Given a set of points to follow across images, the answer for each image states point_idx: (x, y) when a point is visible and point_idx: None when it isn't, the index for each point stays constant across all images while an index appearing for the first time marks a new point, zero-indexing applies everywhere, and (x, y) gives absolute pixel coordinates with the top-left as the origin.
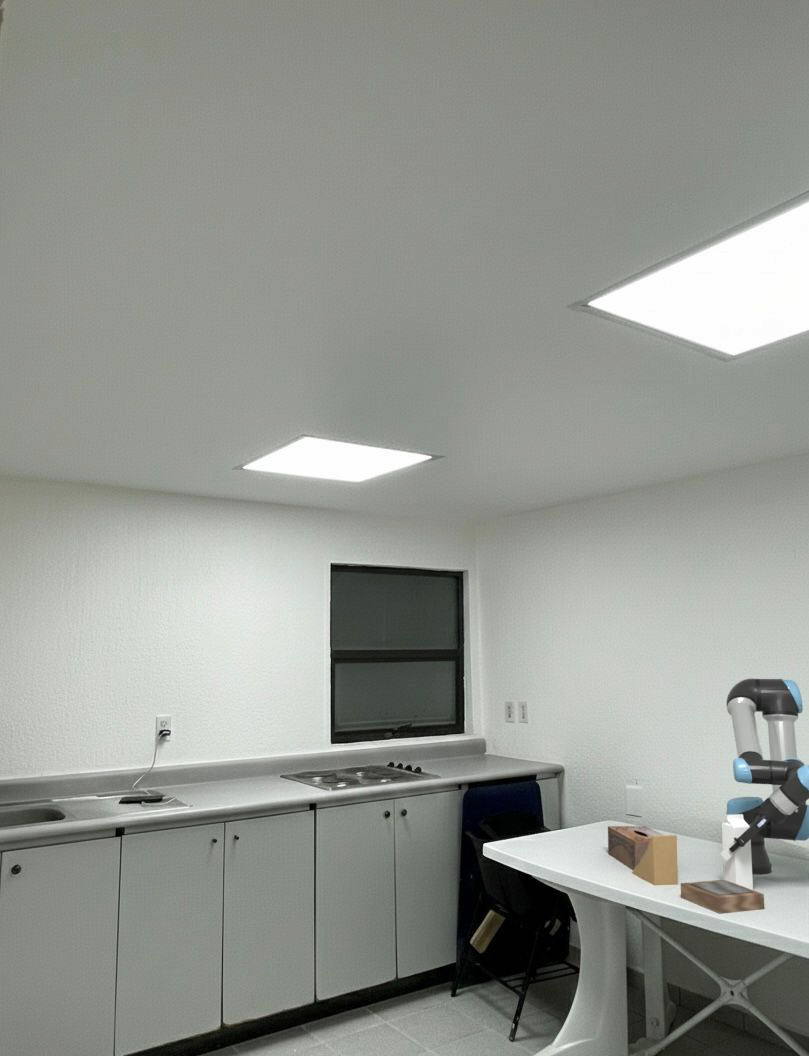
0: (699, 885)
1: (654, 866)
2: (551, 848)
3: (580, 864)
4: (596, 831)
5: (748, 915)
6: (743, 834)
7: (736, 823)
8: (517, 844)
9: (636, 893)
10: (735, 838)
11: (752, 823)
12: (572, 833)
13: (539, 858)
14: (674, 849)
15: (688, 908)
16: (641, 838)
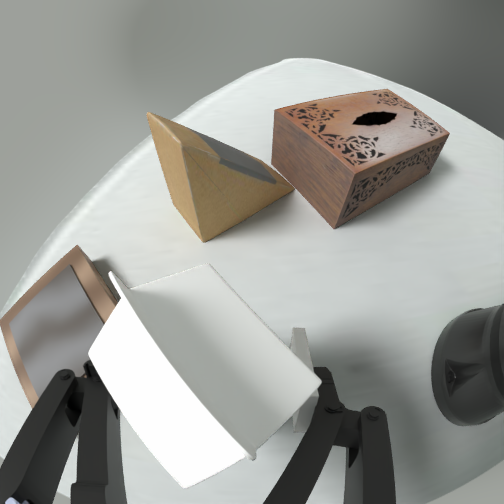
0: (58, 283)
1: (164, 175)
2: (342, 85)
3: (272, 106)
4: (471, 129)
5: (20, 386)
6: (38, 404)
7: (133, 377)
8: (330, 68)
9: (104, 191)
10: (85, 369)
11: (73, 496)
12: (437, 107)
13: (273, 80)
14: (184, 176)
15: (34, 279)
16: (322, 116)
